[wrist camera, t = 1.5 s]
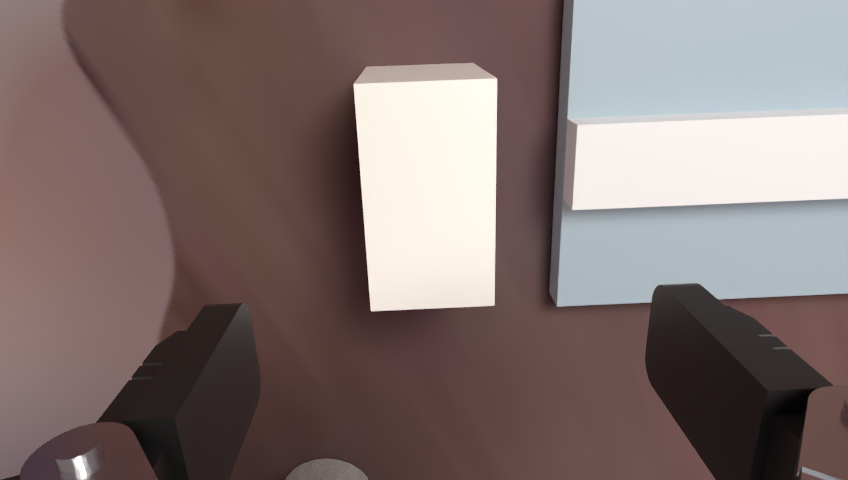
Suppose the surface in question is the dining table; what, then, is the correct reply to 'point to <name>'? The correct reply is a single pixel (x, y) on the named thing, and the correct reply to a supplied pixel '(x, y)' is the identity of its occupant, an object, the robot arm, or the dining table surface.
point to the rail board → (699, 81)
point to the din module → (428, 184)
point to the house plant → (326, 471)
